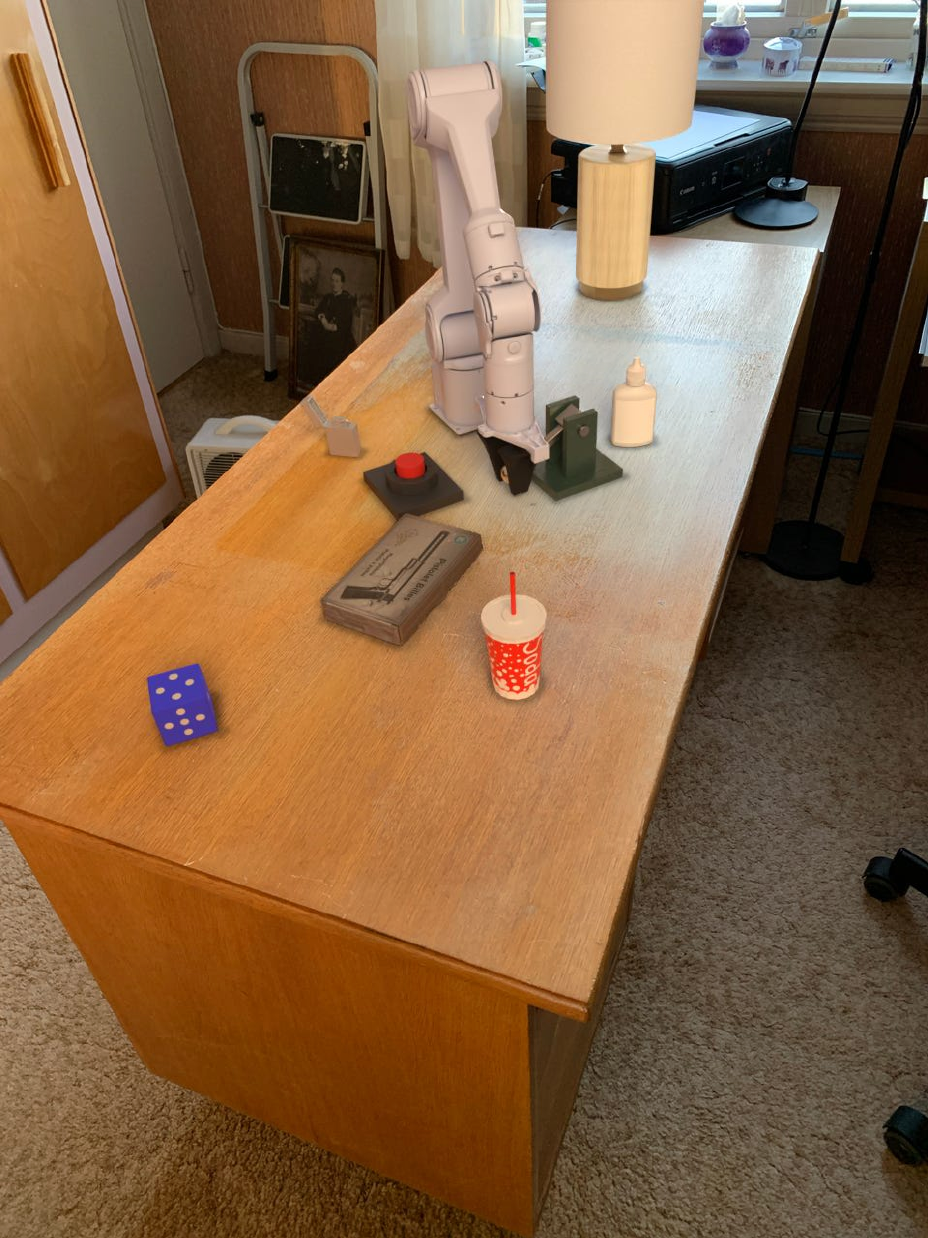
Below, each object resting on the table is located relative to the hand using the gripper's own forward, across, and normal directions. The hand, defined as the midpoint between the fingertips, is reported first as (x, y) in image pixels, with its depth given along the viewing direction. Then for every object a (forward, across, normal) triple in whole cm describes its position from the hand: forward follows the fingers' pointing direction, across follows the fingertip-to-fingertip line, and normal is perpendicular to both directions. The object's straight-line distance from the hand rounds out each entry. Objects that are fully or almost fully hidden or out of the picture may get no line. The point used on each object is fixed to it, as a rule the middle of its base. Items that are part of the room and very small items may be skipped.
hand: (512, 485), depth 114 cm
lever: (-3, 0, +5) cm, 6 cm away
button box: (+1, -8, -10) cm, 13 cm away
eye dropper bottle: (+1, -2, +20) cm, 20 cm away
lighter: (+1, -22, -15) cm, 27 cm away
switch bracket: (+1, 0, +9) cm, 9 cm away
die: (+1, +17, -46) cm, 49 cm away
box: (+1, +10, -20) cm, 22 cm away
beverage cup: (+1, +29, -16) cm, 33 cm away
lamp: (+1, -46, +47) cm, 65 cm away
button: (-2, -8, -10) cm, 13 cm away
